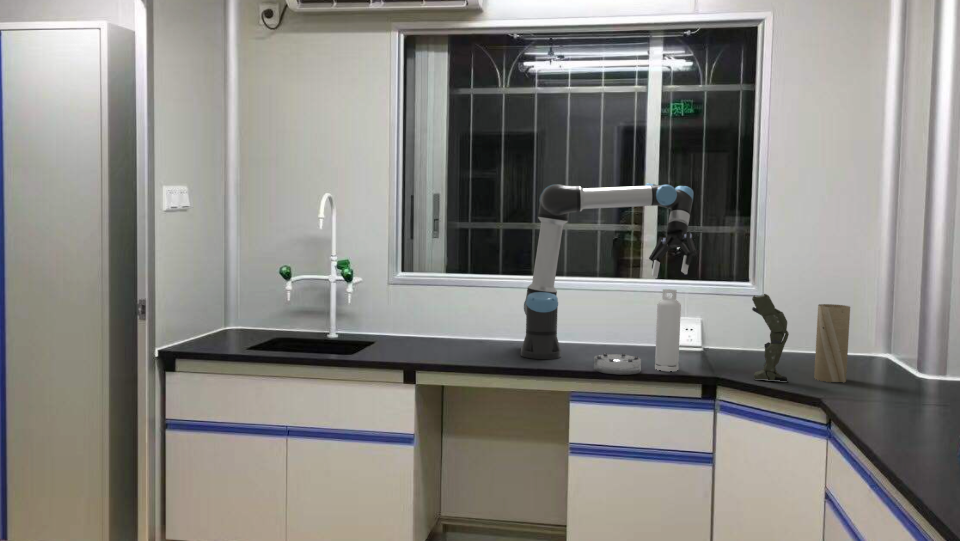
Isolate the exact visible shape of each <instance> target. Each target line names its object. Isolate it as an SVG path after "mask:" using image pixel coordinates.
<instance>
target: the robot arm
mask: <svg viewBox="0 0 960 541" xmlns="http://www.w3.org/2000/svg"><path fill="white" fill-rule="evenodd" d="M538 202H539V207H538V213H537V219H538V220H539V221H540V226H539V228H540V229H539V236H538V242H537V250H536V254H535V262H534V268H533V275H532V282H531V284H530V285H528V286H527V290H526V295H525V296H526V297H525V300H524V302H523V311H524V314H525V316H526V318H525V320H526V321H525V336H524V339H523V343H522V346H521V349H520V356H521V357H522V358H526V359H535V360H556V359H560V358H561V357H562V349H561V347H560V342H559V340H558V311H559V310H558V307H559V300H558V296H557V294H558V290H557V289H556V287H555V281H556V274H557V268H558V263H559V262H558V261H559V256H560V255H559V254H560V248H561V241H562V233H563V229H564V228H563V227H564V226H565V224H567V223H568V222H569V215H570V213H577V212H578V213H579V212H583V210H588V209H592V210H593V209H608V208H609V209H610V208H630V207H651V206H652V207H654V206H656V207H657V206H658V207H662V208H666V209H669V210H670V212H669V216H668V217H669V218H668V223H667V228H666V236H665V237H662V236H660V237H659V238H658V242H657V243H656V245H655V247H654V248H653V250H652V252H651V254H650V255H649V257H648V259H649V261H651V262H652V264H651V269H652V270H651V277H653V278H654V279H658V277H659V276H658V275H659V272H660V267H661V266H660V264H661V262H660V261H661V260H662V259H663V257H664V256H665V255H666V254H667V252H668V251H670V250H672V249H674V248H679V247H681V249H682V251H683V252H684V255H683V257H682V258H683V260H682V264H681V270H680V271H681V273H682V274H684V275H688V272H689V271H688V270H689V267H690V265H691V263H692V258H693V256H694V257H695V256H697V255H698V252H697V249H696V246H695V242H694V240H693V239H694V235H693V234H692V233H691V232H689V231H688V229H689V222H690V219H691V218H690V217H691V211H692V206H693V202H694V189H693V188H691V187H689V186H686V185H678V186H675V187H674V186H673V185H670V184H660V185H658V184H655V183H650V182H647V183H645V185H635V186H610V187H608V186H607V187H588V188H587V187H585V188H584V187H581V186H580V185H564V184H560V183H559V184H551V185H548V186H547V187H545V188H544V189H543V190H542V191H541V193H540V195H539V200H538ZM684 241H686V242H687V244H685V242H684ZM687 246H688V247H687Z"/></svg>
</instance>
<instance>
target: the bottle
mask: <svg viewBox="0 0 960 541" xmlns="http://www.w3.org/2000/svg"><path fill="white" fill-rule="evenodd" d="M668 293H670V294H668ZM667 294H668V295H667ZM671 295H672V296H671ZM681 310H682V304H681V302H679V301H678V300H677V289H671V288H670V289H669V288H668V289H667V288H665V289H662V298H661V300H659V301H658V302H657V308H656V325H655V326H656V328H655V329H656V331H655V350H654V351H655V354H654V355H655V358H654V363H655V364H654V369H655V370H656V369H657V370H656V371H659V370H661V372H670V371H672V372H678V371H679V360H680V341H681V340H680V336H681V317H682V316H681V315H682V313H681ZM677 370H678V371H677Z"/></svg>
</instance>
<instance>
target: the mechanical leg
mask: <svg viewBox="0 0 960 541" xmlns="http://www.w3.org/2000/svg"><path fill="white" fill-rule="evenodd" d="M751 299H752V302H753V304H754V306H755V307H754V306H753V307H752V308H751V310H752V312H754V313H756V314H758V315H760V316H761V317H762V318H763V320H764V322H765V323H766V325H767V328H769V329H768V330H770V332H769V339H770V341H769V342H766V343H765V344H764V358H765V362H764V364H763V368H762V369H761V370H758V371H755V372H753V378H755V379H768V380H780V381H787V380H788V377H787V376H785V375H782V373H779V372H778V371H777V370H776V369H777V368H776V366H777V365H778V363H779V362H780V360H781V356H782V354H783V351H784V348H785V345H786V343H787V341H788V338H789V331H788V320H787V318H786V315H785V314H784V312H783V311H781V310H779V309H777V308H776V306H775V304H774V302H773V301H772V298H771V297H770V295H769V294H767V293H763V295H759V296H758V295H753V296H752V298H751ZM755 379H754V380H755Z"/></svg>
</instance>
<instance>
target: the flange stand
mask: <svg viewBox="0 0 960 541" xmlns="http://www.w3.org/2000/svg"><path fill="white" fill-rule="evenodd" d="M593 357H594V358H593V359H594V360H593V361H594V362H593V370H594V371H596V372H599V373H603V374H609V375H622V376H623V375H637V374H639V373H641V370H642V368H641V367H642V366H641V365H642V359H641V358H640V357H639V356H638V355H634V356H632V355H628V354H626V353H625V352H622V353H621V354H616V353H615V354H610V353H609V354H608V352H603V353H602V354H599V355H595V356H593Z"/></svg>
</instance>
